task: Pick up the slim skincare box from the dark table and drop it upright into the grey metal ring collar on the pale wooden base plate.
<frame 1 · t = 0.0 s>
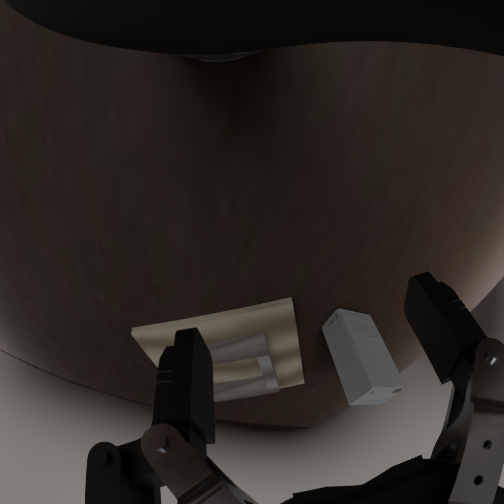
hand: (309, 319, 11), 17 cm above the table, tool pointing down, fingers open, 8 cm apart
ring holder: (228, 359, 41), on the table
skincare box: (346, 318, 38), on the table
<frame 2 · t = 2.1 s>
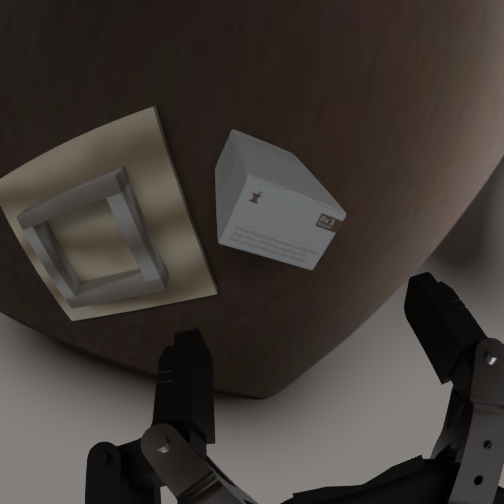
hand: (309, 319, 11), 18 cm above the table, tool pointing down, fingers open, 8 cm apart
ring holder: (98, 234, 28), on the table
skincare box: (256, 159, 26), on the table
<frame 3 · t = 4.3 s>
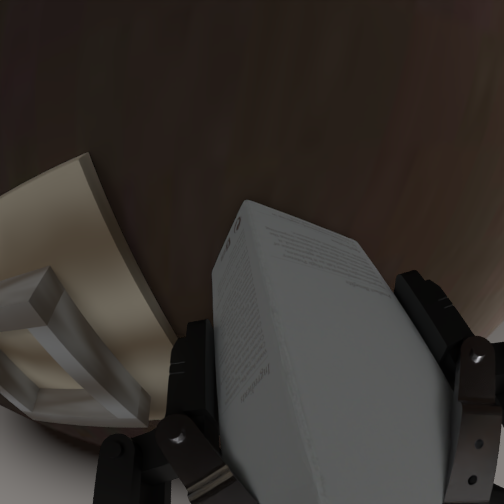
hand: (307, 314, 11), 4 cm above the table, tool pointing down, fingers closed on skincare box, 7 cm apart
ring holder: (44, 341, 16), on the table
skincare box: (288, 250, 14), on the table, touching gripper
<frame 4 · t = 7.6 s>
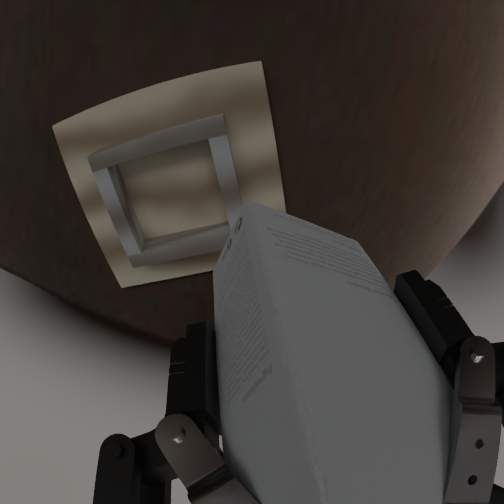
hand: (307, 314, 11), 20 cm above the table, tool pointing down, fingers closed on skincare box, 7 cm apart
ring holder: (175, 185, 28), on the table
skincare box: (289, 251, 14), point 16 cm above the table, touching gripper
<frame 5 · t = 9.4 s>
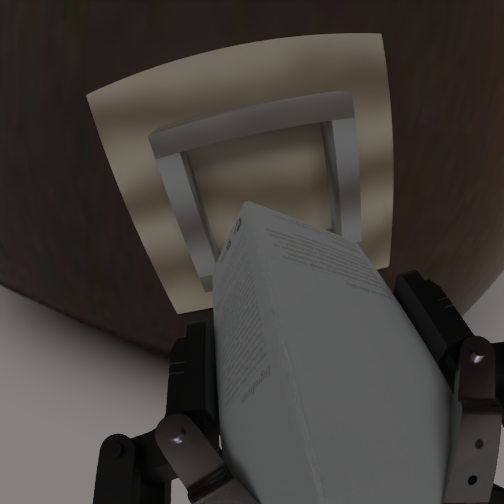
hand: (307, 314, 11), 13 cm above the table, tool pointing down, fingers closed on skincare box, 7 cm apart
ring holder: (263, 182, 22), on the table
skincare box: (288, 252, 14), point 9 cm above the table, touching gripper
when the fingers open (9 cm above the table, at t = 11.2 s): skincare box drops 4 cm, resting on ring holder.
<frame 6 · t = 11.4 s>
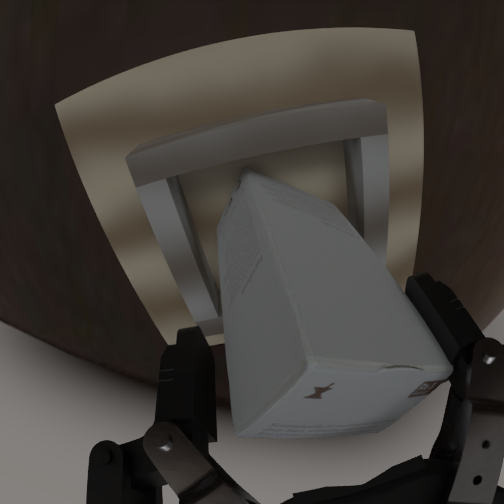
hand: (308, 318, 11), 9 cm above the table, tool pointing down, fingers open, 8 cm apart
ring holder: (271, 208, 18), on the table
skincare box: (279, 212, 17), point 1 cm above the table, touching gripper, ring holder
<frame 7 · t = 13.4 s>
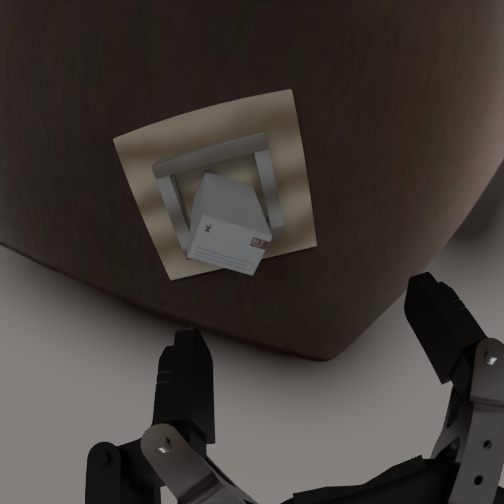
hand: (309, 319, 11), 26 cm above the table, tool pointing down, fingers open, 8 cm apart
ring holder: (221, 190, 35), on the table
skincare box: (224, 192, 34), point 1 cm above the table, touching ring holder
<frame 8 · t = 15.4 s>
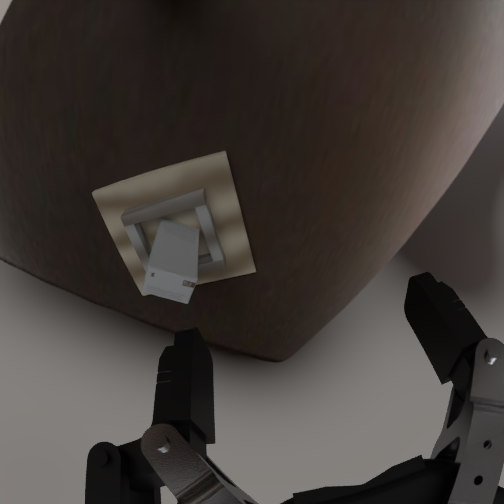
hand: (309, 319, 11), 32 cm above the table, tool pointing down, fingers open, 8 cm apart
ring holder: (176, 230, 44), on the table
skincare box: (178, 232, 44), point 1 cm above the table, touching ring holder
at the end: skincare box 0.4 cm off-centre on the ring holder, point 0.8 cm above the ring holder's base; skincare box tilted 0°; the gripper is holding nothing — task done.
